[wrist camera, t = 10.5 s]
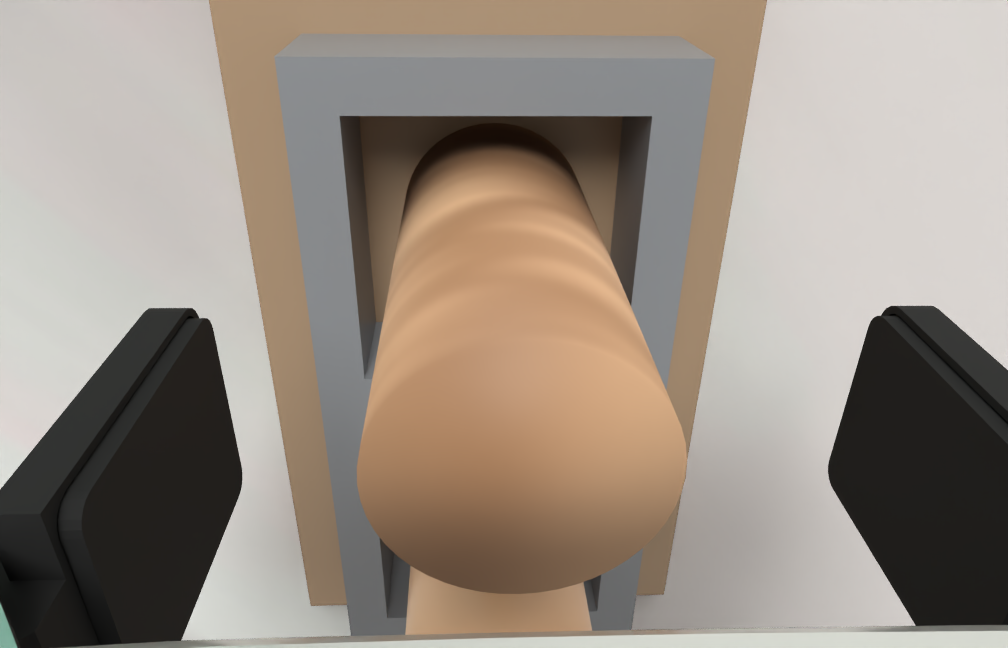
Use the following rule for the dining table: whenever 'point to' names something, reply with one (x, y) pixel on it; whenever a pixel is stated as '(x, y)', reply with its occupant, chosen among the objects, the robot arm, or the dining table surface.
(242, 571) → the dining table surface
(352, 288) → the housing
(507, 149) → the switch lever
